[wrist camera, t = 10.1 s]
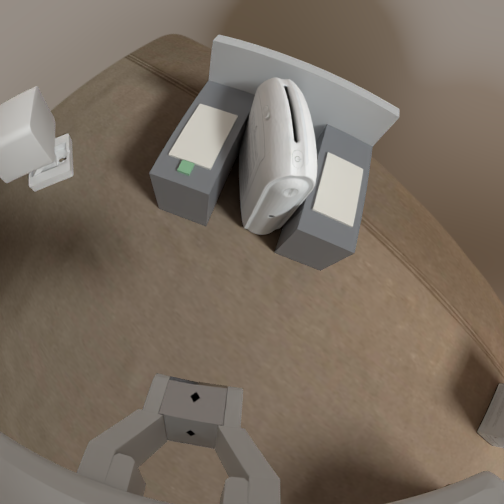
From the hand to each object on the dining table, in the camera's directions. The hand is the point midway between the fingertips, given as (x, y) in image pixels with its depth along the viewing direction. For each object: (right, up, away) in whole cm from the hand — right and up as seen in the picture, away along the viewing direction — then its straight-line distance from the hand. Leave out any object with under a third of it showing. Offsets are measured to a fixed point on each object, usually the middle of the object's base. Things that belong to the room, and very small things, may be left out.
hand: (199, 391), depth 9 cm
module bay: (+3, +11, +21) cm, 24 cm away
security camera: (-22, +15, +17) cm, 31 cm away
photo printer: (+2, +11, +21) cm, 24 cm away
